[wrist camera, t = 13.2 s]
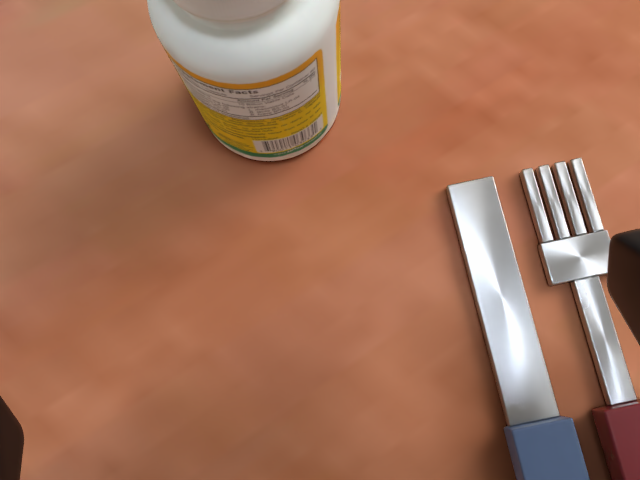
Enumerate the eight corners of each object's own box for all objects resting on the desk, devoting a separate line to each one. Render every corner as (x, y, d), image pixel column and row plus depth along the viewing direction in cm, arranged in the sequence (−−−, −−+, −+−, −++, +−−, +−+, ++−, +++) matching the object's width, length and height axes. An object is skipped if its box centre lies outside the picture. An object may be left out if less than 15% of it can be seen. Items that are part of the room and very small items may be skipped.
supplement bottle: (300, 188, 22) (266, 60, 13) (177, 127, 23) (60, -37, 14) (366, 68, 23) (379, -134, 14) (245, 13, 24) (180, -215, 14)
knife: (615, 609, 19) (631, 624, 18) (553, 622, 19) (565, 638, 18) (494, 177, 22) (502, 168, 21) (441, 189, 22) (446, 179, 21)
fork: (715, 589, 19) (737, 602, 18) (640, 604, 19) (658, 619, 18) (580, 160, 22) (592, 149, 21) (515, 173, 22) (524, 163, 21)
